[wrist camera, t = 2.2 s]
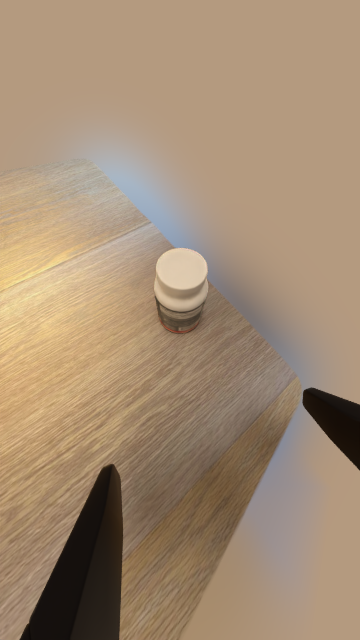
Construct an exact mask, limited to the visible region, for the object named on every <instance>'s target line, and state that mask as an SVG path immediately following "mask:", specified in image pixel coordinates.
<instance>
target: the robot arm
mask: <svg viewBox="0 0 360 640" xmlns="http://www.w3.org/2000/svg"><path fill="white" fill-rule="evenodd" d="M303 406H304V407H305V409H306V410H307V411H308V412H309V414H310V415H311V416H312V417H313V419H314V420H315V421H316V422H317V424H318V425H319V426H320V427H321V428H322V430H323V431H324V432H325V433H326V435H327V436H328V437H329V438H330V439H331V440H332V441H333V443H334V444H335V445H336V446H337V447H338V448H339V449H340V450H341V451H342V452H343V453H344V454H345V455H346V456H347V457H348V458H349V460H350V461H352V463H353V464H354V465H355V466H356V467H357V468H358V469H359V470H360V405H359V404H357V403H354V402H351V401H348V400H345V399H343V398H340V397H337V396H335V395H332V394H329V393H326V392H323V391H321V390H318V389H315V388H308V389H306V390H304V391H303ZM122 551H123V516H122V496H121V479H120V475H119V473H118V471H117V469H116V467H115V466H114V464H110V465H107V466H105V467H103V468H102V469H101V471H100V473H99V475H98V477H97V480H96V482H95V484H94V486H93V488H92V490H91V492H90V494H89V496H88V498H87V500H86V503H85V505H84V507H83V509H82V511H81V513H80V515H79V517H78V519H77V521H76V523H75V525H74V528H73V530H72V532H71V534H70V536H69V538H68V540H67V542H66V544H65V546H64V548H63V550H62V553H61V555H60V557H59V559H58V561H57V563H56V565H55V567H54V569H53V571H52V573H51V576H50V578H49V580H48V582H47V584H46V586H45V588H44V590H43V592H42V594H41V596H40V598H39V601H38V603H37V605H36V607H35V609H34V611H33V613H32V615H31V617H30V620H29V624H27V625H26V627H25V629H24V632H23V634H22V636H21V638H20V640H119V630H120V604H121V578H122Z"/></svg>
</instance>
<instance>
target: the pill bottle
mask: <svg viewBox="0 0 360 640" xmlns="http://www.w3.org/2000/svg"><path fill="white" fill-rule="evenodd" d="M207 273H208V268H207V263H206V261H205V259H204V258H203V257H202V256H201V255H200V254H199V253H197V252H196V251H194V250H191V249H187V248H176V249H172V250H169V251H167V252H165V253H164V254H163V255H162V256H161V257H160V258H159V260H158V262H157V265H156V279H155V282H154V293H155V298H156V304H157V310H158V315H159V319H160V322H161V323H162V325H163V326H164V327H165V328H166V329H168V330H169V331H171V332H175V333H185V332H188V331H190V330H192V329H193V328H195V327H196V325H197V324H198V322H199V320H200V317H201V314H202V311H203V307H204V304H205V301H206V298H207V294H208V281H207Z"/></svg>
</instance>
